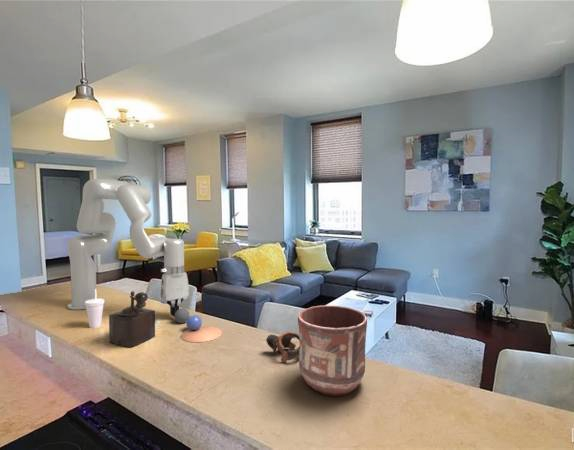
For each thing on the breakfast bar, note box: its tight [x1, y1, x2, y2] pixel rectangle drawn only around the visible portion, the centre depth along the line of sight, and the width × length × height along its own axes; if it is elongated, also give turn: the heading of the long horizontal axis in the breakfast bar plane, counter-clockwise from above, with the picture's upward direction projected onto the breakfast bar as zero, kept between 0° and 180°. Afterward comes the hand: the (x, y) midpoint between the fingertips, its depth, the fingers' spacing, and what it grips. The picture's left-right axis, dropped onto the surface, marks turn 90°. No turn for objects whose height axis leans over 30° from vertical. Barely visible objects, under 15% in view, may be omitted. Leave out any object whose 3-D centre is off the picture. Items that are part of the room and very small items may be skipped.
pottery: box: [297, 304, 368, 397], centre depth 84 cm, size 18×18×18 cm
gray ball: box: [174, 307, 190, 324], centre depth 126 cm, size 6×6×6 cm
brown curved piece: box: [265, 331, 300, 364], centre depth 99 cm, size 12×10×8 cm
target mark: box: [180, 326, 223, 343], centre depth 115 cm, size 14×14×1 cm
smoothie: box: [85, 288, 105, 329], centre depth 121 cm, size 6×6×14 cm
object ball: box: [185, 314, 203, 331], centre depth 119 cm, size 6×6×6 cm
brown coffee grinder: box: [108, 290, 156, 348], centre depth 109 cm, size 16×11×18 cm
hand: (174, 315), depth 130 cm, fingers closed
